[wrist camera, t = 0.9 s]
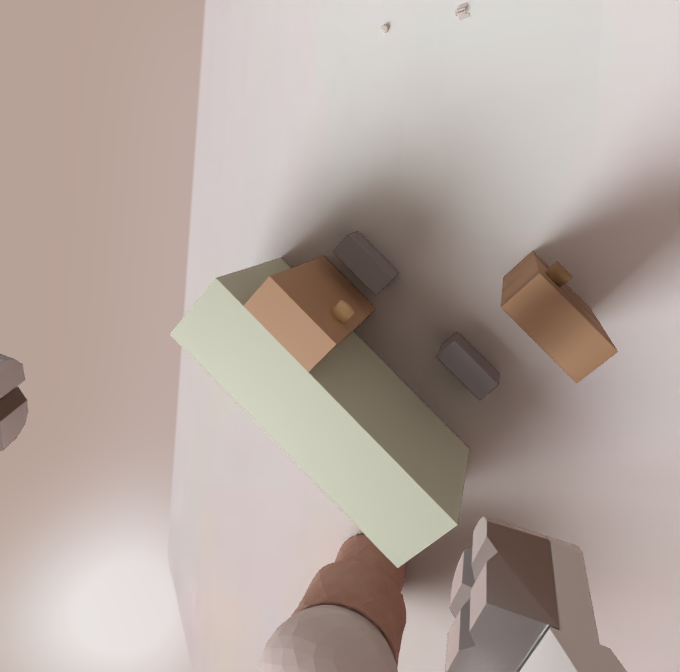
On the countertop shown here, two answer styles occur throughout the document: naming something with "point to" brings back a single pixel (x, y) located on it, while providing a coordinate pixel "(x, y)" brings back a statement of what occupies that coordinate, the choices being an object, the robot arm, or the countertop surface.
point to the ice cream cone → (344, 617)
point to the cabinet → (337, 392)
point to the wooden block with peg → (555, 316)
